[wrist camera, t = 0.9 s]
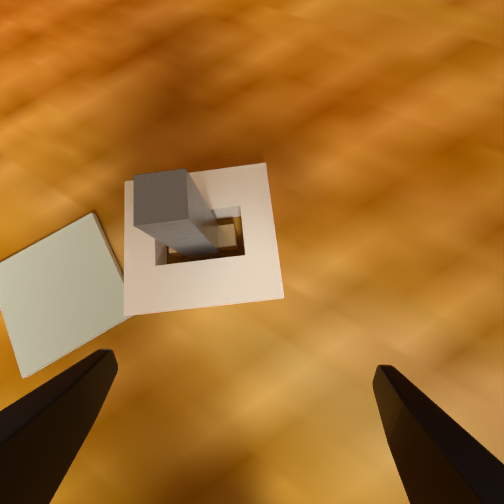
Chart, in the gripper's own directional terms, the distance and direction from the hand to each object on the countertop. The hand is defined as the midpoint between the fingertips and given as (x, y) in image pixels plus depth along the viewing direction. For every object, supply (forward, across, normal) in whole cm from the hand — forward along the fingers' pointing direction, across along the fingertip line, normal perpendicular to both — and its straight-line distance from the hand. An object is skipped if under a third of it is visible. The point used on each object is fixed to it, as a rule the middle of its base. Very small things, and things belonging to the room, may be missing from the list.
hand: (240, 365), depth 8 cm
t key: (+15, +5, +2) cm, 16 cm away
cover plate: (+15, +5, +2) cm, 16 cm away
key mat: (+12, +18, +6) cm, 23 cm away
